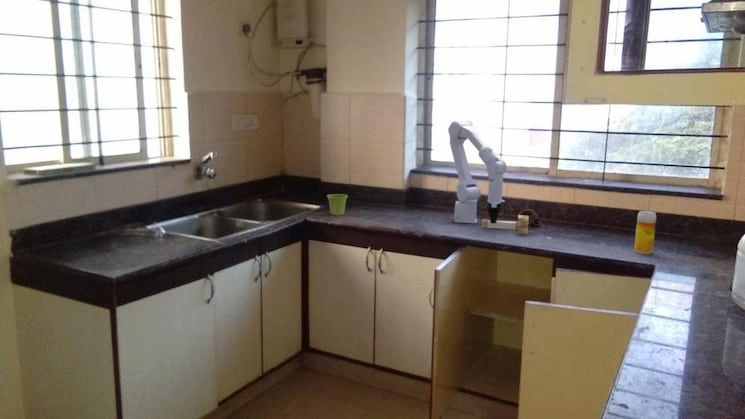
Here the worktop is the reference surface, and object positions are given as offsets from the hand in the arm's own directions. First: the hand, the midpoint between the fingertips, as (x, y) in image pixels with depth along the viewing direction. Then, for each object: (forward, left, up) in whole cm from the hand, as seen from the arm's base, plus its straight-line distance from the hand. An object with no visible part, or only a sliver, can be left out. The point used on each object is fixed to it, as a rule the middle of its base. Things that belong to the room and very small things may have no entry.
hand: (493, 221), depth 255 cm
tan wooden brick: (+12, -6, -3) cm, 14 cm away
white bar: (+3, 0, -3) cm, 4 cm away
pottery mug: (+14, +9, -3) cm, 17 cm away
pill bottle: (+54, -25, -3) cm, 60 cm away
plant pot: (-71, +6, -3) cm, 71 cm away
